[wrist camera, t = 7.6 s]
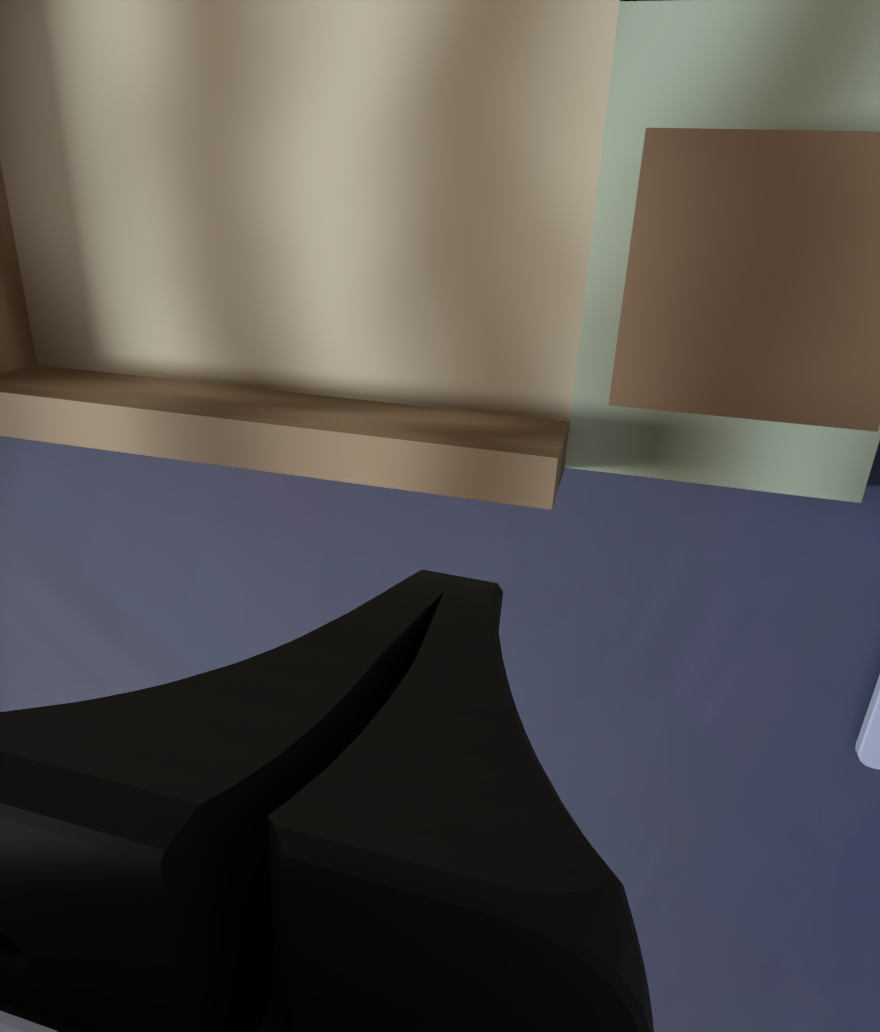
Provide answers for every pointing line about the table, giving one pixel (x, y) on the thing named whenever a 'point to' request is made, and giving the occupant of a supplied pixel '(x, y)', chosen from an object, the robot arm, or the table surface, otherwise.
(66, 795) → the robot arm
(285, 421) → the cubby base
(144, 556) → the table surface
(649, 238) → the walnut block
